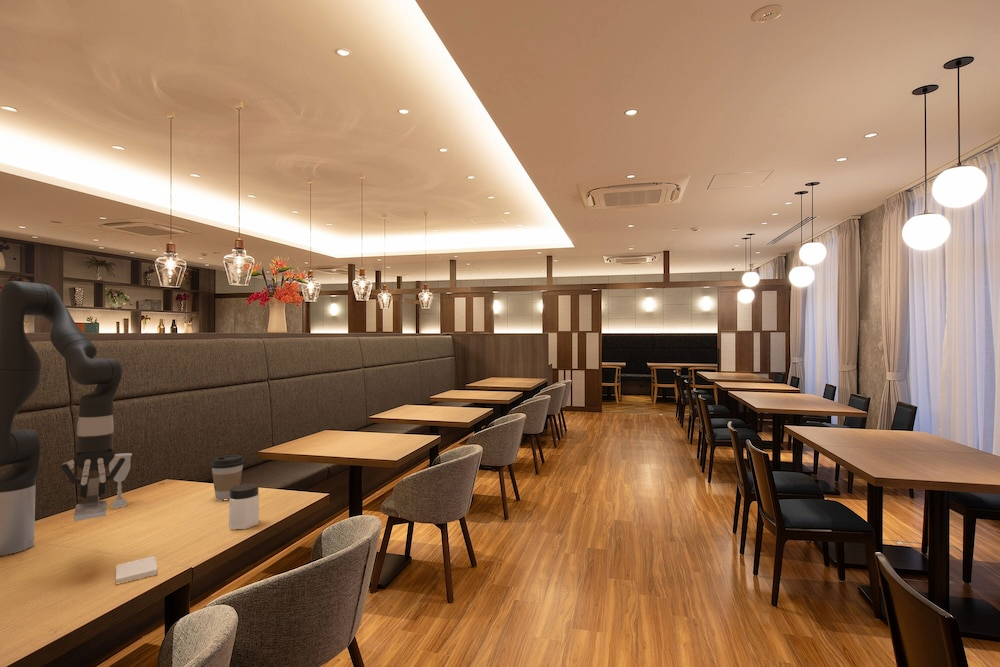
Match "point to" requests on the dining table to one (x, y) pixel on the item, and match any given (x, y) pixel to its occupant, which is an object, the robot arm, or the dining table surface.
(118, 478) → the chalice
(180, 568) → the dining table surface
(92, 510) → the turner
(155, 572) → the tile
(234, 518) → the jar
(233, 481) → the coffee cup
